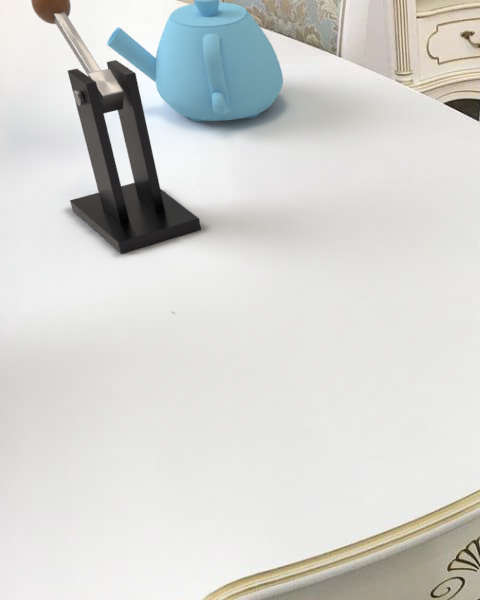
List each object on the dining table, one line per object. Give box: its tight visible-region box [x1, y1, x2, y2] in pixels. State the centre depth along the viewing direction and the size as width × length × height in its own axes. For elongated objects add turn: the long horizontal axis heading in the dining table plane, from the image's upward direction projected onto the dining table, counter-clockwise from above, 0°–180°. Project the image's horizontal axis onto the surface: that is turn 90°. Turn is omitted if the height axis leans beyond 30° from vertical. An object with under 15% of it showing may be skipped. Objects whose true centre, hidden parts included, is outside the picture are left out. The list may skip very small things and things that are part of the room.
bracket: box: [67, 59, 202, 254], centre depth 112 cm, size 12×9×15 cm
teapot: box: [106, 0, 284, 123], centre depth 134 cm, size 20×20×13 cm
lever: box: [30, 0, 123, 114], centre depth 108 cm, size 14×4×4 cm, turn 38°
